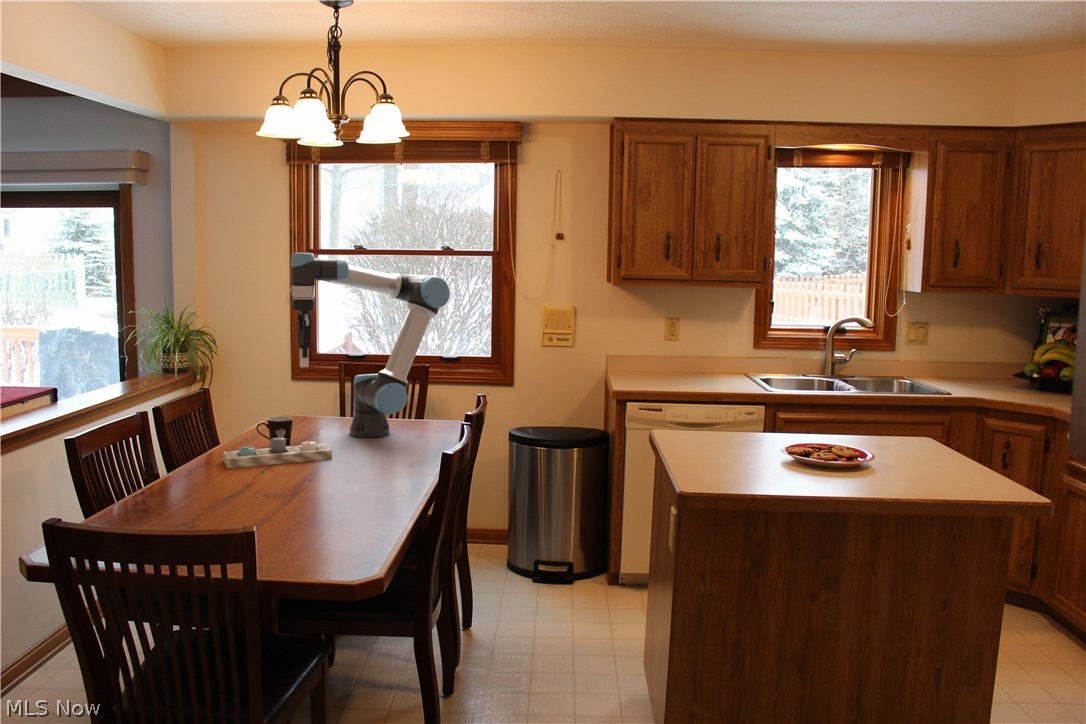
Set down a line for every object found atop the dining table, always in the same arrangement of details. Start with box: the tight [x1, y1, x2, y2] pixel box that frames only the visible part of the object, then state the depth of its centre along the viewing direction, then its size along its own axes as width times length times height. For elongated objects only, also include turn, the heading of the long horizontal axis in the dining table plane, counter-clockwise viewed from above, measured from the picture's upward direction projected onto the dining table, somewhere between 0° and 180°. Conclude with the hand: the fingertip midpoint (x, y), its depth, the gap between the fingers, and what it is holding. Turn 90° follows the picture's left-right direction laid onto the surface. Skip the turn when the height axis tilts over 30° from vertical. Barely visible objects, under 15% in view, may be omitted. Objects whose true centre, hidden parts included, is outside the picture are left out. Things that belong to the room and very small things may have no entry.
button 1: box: [300, 441, 317, 451], centre depth 286 cm, size 5×5×5 cm
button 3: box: [238, 446, 255, 456], centre depth 276 cm, size 5×5×5 cm
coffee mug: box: [256, 415, 294, 446], centre depth 300 cm, size 12×9×10 cm
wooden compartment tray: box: [222, 443, 333, 469], centre depth 281 cm, size 33×11×3 cm, turn 117°
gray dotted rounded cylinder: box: [269, 438, 286, 454], centre depth 281 cm, size 5×5×5 cm
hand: (304, 366), depth 291 cm, fingers closed
